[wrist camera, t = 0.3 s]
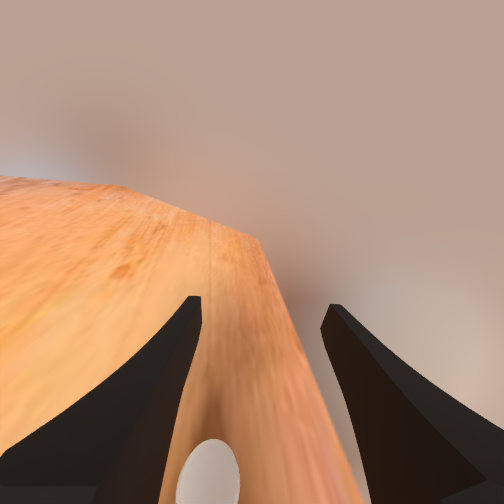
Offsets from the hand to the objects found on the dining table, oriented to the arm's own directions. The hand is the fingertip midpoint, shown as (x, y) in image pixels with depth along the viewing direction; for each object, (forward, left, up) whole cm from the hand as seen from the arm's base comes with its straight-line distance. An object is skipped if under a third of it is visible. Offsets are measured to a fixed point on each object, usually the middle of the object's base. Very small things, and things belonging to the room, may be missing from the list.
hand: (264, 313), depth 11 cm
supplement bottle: (-5, +1, -21) cm, 21 cm away
